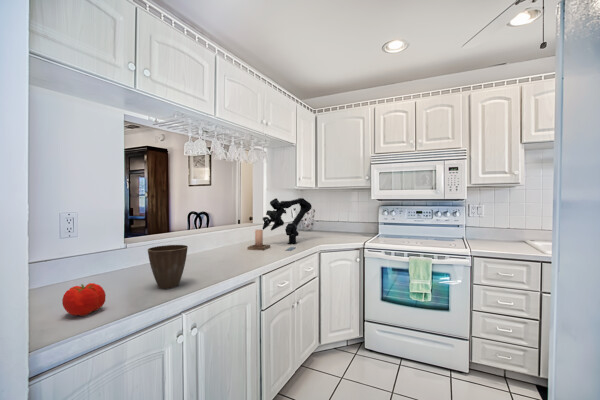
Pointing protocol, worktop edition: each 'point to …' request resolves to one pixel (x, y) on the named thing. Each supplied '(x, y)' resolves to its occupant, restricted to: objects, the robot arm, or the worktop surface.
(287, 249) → the slate-blue mat
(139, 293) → the worktop surface
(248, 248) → the walnut puzzle board
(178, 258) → the plant pot
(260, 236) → the terracotta peg
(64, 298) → the tomato
